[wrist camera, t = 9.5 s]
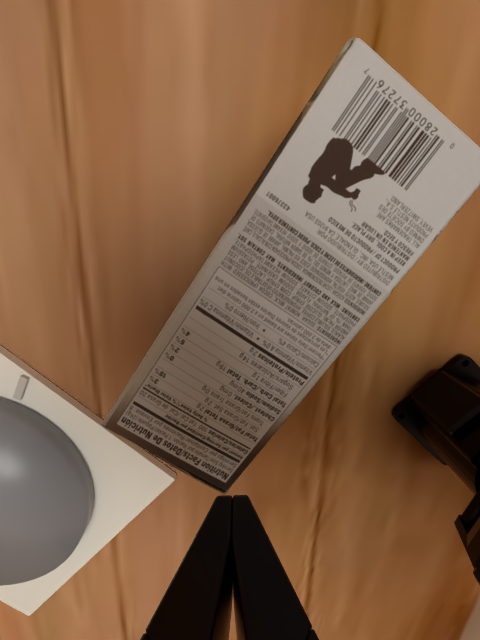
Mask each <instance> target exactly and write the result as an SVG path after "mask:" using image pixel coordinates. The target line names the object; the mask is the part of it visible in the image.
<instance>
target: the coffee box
mask: <svg viewBox="0 0 480 640" xmlns="http://www.w3.org/2000/svg"><path fill="white" fill-rule="evenodd" d="M479 185H480V147H479V146H478V145H477V144H476V143H474V142H473V141H472V140H471V139H470V138H469V137H468V136H467V135H466V134H464V133H463V132H462V131H461V130H460V129H459V128H458V127H457V126H456V125H454V124H453V123H452V122H451V121H450V120H449V119H448V118H447V117H445V116H444V115H443V114H442V113H441V112H440V111H439V110H438V109H437V108H435V107H434V106H433V105H432V104H431V103H430V102H429V101H428V100H426V99H425V98H424V97H423V96H422V95H421V94H420V93H419V92H418V91H417V90H416V89H415V88H414V87H413V86H411V85H410V84H409V83H408V82H407V81H406V80H405V79H404V78H403V77H402V76H401V75H400V74H398V73H397V72H396V71H395V70H394V69H393V68H391V67H390V66H389V65H388V64H387V63H386V62H385V61H384V60H383V59H382V58H381V57H380V56H379V55H378V54H377V53H375V52H374V51H373V50H372V49H371V48H370V47H369V46H368V45H367V44H366V43H364V42H363V41H362V40H361V39H359V38H351V39H349V40H348V41H347V43H346V44H345V46H344V47H343V49H342V50H341V52H340V53H339V55H338V57H337V58H336V60H335V61H334V63H333V64H332V66H331V67H330V69H329V71H328V72H327V74H326V75H325V77H324V78H323V80H322V81H321V83H320V85H319V86H318V88H317V89H316V91H315V92H314V94H313V95H312V97H311V98H310V100H309V102H308V103H307V105H306V106H305V108H304V109H303V111H302V112H301V114H300V115H299V117H298V119H297V120H296V122H295V123H294V125H293V126H292V128H291V129H290V131H289V132H288V134H287V135H286V137H285V139H284V140H283V142H282V143H281V145H280V146H279V148H278V149H277V151H276V152H275V154H274V155H273V157H272V159H271V160H270V162H269V163H268V165H267V166H266V168H265V169H264V171H263V172H262V174H261V176H260V177H259V179H258V180H257V182H256V183H255V185H254V186H253V188H252V189H251V191H250V193H249V194H248V196H247V197H246V199H245V200H244V202H243V203H242V205H241V206H240V208H239V210H238V211H237V213H236V214H235V216H234V217H233V219H232V220H231V222H230V224H229V225H228V227H227V228H226V230H225V231H224V233H223V235H222V236H221V238H220V239H219V241H218V242H217V244H216V245H215V247H214V249H213V250H212V252H211V253H210V255H209V256H208V258H207V259H206V261H205V263H204V264H203V266H202V267H201V269H200V270H199V272H198V273H197V275H196V276H195V278H194V280H193V281H192V283H191V284H190V286H189V287H188V289H187V291H186V292H185V294H184V295H183V297H182V298H181V300H180V301H179V303H178V305H177V306H176V308H175V309H174V311H173V312H172V314H171V316H170V317H169V319H168V320H167V322H166V323H165V325H164V327H163V328H162V330H161V331H160V333H159V334H158V336H157V338H156V339H155V341H154V342H153V344H152V345H151V347H150V349H149V350H148V352H147V353H146V355H145V356H144V358H143V360H142V361H141V363H140V364H139V366H138V368H137V369H136V371H135V372H134V374H133V376H132V377H131V379H130V380H129V382H128V383H127V385H126V387H125V388H124V390H123V391H122V393H121V394H120V396H119V398H118V399H117V401H116V402H115V404H114V405H113V407H112V408H111V410H110V412H109V413H108V415H107V416H106V418H105V419H104V421H103V423H102V426H103V427H105V428H106V429H108V430H110V431H112V432H114V433H116V434H118V435H120V436H122V437H124V438H125V439H127V440H129V441H131V442H133V443H135V444H137V445H139V446H140V447H142V448H144V449H146V450H147V451H149V452H150V453H151V454H153V455H155V456H156V457H158V458H160V459H161V460H163V461H164V462H166V463H168V464H170V465H171V466H173V467H175V468H177V469H178V470H180V471H182V472H184V473H185V474H187V475H189V476H191V477H193V478H194V479H196V480H198V481H200V482H202V483H204V484H206V485H208V486H209V487H211V488H213V489H215V490H217V491H219V492H221V493H223V494H226V493H227V492H228V490H229V488H230V487H231V486H232V484H233V483H234V482H235V481H236V479H237V478H238V477H239V476H240V475H241V473H242V472H243V471H244V470H245V469H246V467H247V466H248V465H249V464H250V463H251V461H252V460H253V459H254V458H255V456H256V455H257V454H258V453H259V452H260V451H261V449H262V448H263V447H264V446H265V444H266V443H267V442H268V441H269V440H270V438H271V437H272V436H273V435H274V434H275V432H276V431H277V430H278V429H279V427H280V426H281V425H282V424H283V423H284V421H285V420H286V419H287V418H288V416H289V415H290V414H291V413H292V412H293V410H294V409H295V408H296V407H297V406H298V404H299V403H300V402H301V401H302V399H303V398H304V397H305V396H306V395H307V393H308V392H309V391H310V390H311V388H312V387H313V386H314V385H315V384H316V382H317V381H318V380H319V379H320V378H321V376H322V375H323V374H324V373H325V372H326V370H327V369H328V368H329V367H330V365H331V364H332V363H333V362H334V361H335V359H336V358H337V357H338V356H339V354H340V353H341V352H342V351H343V349H344V348H345V347H346V346H347V345H348V344H349V342H350V341H351V340H352V339H353V338H354V336H355V335H356V334H357V333H358V332H359V330H360V329H361V328H362V327H363V326H364V324H365V323H366V322H367V321H368V320H369V318H370V317H371V316H372V315H373V313H374V312H375V311H376V310H377V309H378V307H379V306H380V305H381V304H382V303H383V301H384V300H385V299H386V298H387V297H388V296H389V295H390V293H391V292H392V290H393V289H394V288H395V287H396V286H397V285H398V283H399V282H400V281H401V280H402V279H403V278H404V276H405V275H406V274H407V273H408V271H409V270H410V269H411V268H412V267H413V265H414V264H415V263H416V262H417V260H418V259H419V258H420V257H421V255H422V254H423V253H424V252H425V251H426V249H427V248H428V247H429V246H430V245H431V244H432V243H433V241H434V240H435V239H436V237H437V236H438V235H439V234H440V233H441V232H442V230H443V229H444V228H445V227H446V226H447V224H448V223H449V222H450V220H451V219H452V218H453V217H454V215H455V214H456V213H457V212H458V210H459V209H460V208H461V207H462V206H463V204H464V203H465V202H466V201H467V200H468V198H469V197H470V196H471V195H472V194H473V192H474V191H475V190H476V189H477V188H478V186H479Z"/></svg>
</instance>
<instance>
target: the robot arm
mask: <svg viewBox="0 0 480 640" xmlns="http://www.w3.org/2000/svg"><path fill="white" fill-rule="evenodd" d="M464 360H465V362H464V363H463V364H462V362H463V361H464ZM401 412H402V414H401V415H398V414H399V413H401ZM392 415H393V417H394V418H395V419H396V420H397V421H398V422H399V423H400V424H401V425H402V426H403V427H404V428H405V429H406V430H407V431H408V432H409V433H410V434H412V435H413V436H414V437H415V438H416V439H417V440H418V441H419V442H420V443H421V444H422V445H423V446H424V447H425V448H426V449H427V450H428V451H430V452H431V453H432V454H433V455H434V456H435V457H436V458H437V459H438V460H439V461H440V462H441V463H442V464H444V465H448V466H449V467H450V468H451V469H452V470H453V471H454V472H455V473H456V474H457V475H458V476H459V478H460V479H461V480H462V481H463V482H464V483H465V484H466V485H467V486H468V487H469V489H470V490H471V491H472V492H473V493H474V494H475V496H474V497H473V499H472V500H471V502H470V503H469V505H468V506H467V508H466V509H465V511H464V512H463V514H462V515H459V516H458V517H457V519H456V520H455V522H454V523H455V526H456V528H457V530H458V533H459V535H460V537H461V539H462V542H463V544H464V546H465V549H466V551H467V553H468V556H469V558H470V560H471V562H472V565H473V567H474V571H473V573H474V576H475V578H476V580H477V582H478V583H479V585H480V367H479V366H478V365H477V364H476V363H475V362H474V361H473V360H472V359H471V358H470V357H468V356H466V355H463V354H462V355H459V356H457V357H456V358H454V359H453V360H452V361H451V362H450V363H448V364H447V365H446V366H445V367H444V368H442V369H441V370H440V371H439V372H438V373H436V374H435V375H434V376H433V377H431V378H430V379H429V380H428V381H427V382H425V383H424V384H423V385H422V386H421V387H419V388H418V389H417V390H416V391H415V392H413V393H412V394H411V395H410V396H409V397H407V398H406V399H405V400H404V401H402V402H401V403H400V404H399V405H398V406H396V407H395V408H394V409H393V411H392ZM232 597H233V598H234V611H235V622H236V632H237V640H319V639H318V637H317V635H316V633H315V631H314V630H313V629H312V625H311V623H310V621H309V619H308V617H307V615H306V613H305V611H304V609H303V607H302V605H301V603H300V601H299V599H298V596H297V594H296V592H295V590H294V588H293V586H292V584H291V582H290V580H289V578H288V576H287V574H286V572H285V570H284V568H283V566H282V564H281V562H280V560H279V558H278V556H277V554H276V552H275V550H274V548H273V546H272V544H271V542H270V540H269V537H268V535H267V533H266V531H265V529H264V527H263V525H262V523H261V521H260V519H259V517H258V515H257V513H256V511H255V509H254V507H253V505H252V503H251V501H250V499H249V497H248V496H247V495H235V496H233V499H232V496H230V495H226V496H217V497H216V499H215V501H214V503H213V505H212V506H211V508H210V510H209V512H208V514H207V516H206V518H205V520H204V521H203V523H202V525H201V527H200V529H199V531H198V533H197V535H196V536H195V538H194V540H193V542H192V544H191V546H190V548H189V550H188V551H187V553H186V555H185V557H184V559H183V561H182V563H181V565H180V566H179V568H178V570H177V572H176V574H175V576H174V578H173V580H172V581H171V583H170V585H169V587H168V589H167V591H166V593H165V595H164V596H163V598H162V600H161V602H160V604H159V606H158V608H157V610H156V611H155V613H154V615H153V617H152V619H151V621H150V623H149V625H148V627H147V628H146V633H144V634H143V636H142V637H141V639H140V640H229V630H230V620H231V610H232Z"/></svg>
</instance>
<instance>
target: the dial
mask: <svg viewBox="0 0 480 640" xmlns="http://www.w3.org/2000/svg"><path fill="white" fill-rule="evenodd" d="M93 507H94V490H93V483H92V480H91V476H90V473H89V470H88V468H87V466H86V463H85V462H84V460H83V458H82V457H81V455H80V453H79V451H78V450H77V449H76V448H75V446H74V445H73V444H72V443H71V441H70V440H69V439H68V438H67V437H66V436H65V435H64V434H63V433H62V432H61V431H60V430H59V429H58V428H56V427H55V426H54V425H53V424H51V423H50V422H49V421H48V420H46V419H44V418H43V417H41V416H40V415H38V414H37V413H35V412H33V411H31V410H29V409H27V408H25V407H23V406H21V405H19V404H16V403H14V402H11V401H8V400H6V399H2V398H0V586H2V585H13V584H18V583H24V582H27V581H31V580H34V579H37V578H39V577H41V576H44V575H46V574H48V573H49V572H51V571H53V570H55V569H56V568H57V567H59V566H60V565H61V564H62V563H64V562H65V561H66V560H67V559H68V558H69V557H70V555H71V554H72V553H73V552H74V550H75V548H76V547H77V545H78V544H79V542H80V540H81V538H82V536H83V534H84V532H85V530H86V528H87V526H88V524H89V521H90V519H91V516H92V512H93Z"/></svg>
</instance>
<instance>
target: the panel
mask: <svg viewBox="0 0 480 640" xmlns="http://www.w3.org/2000/svg"><path fill="white" fill-rule="evenodd" d="M0 398H2V399H6V400H8V401H11V402H14V403H16V404H19V405H21V406H23V407H25V408H27V409H29V410H31V411H33V412H35V413H37V414H38V415H40V416H41V417H43V418H44V419H46V420H48V421H49V422H50V423H51V424H53V425H54V426H55V427H56V428H58V429H59V430H60V431H61V432H62V433H63V434H64V435H65V436H66V437H67V438H68V439H69V440H70V441H71V443H72V444H73V445H74V446H75V448H76V449H77V450H78V451H79V453H80V455H81V457H82V458H83V460H84V462H85V463H86V466H87V468H88V470H89V473H90V476H91V480H92V483H93V490H94V507H93V512H92V516H91V519H90V521H89V524H88V526H87V528H86V530H85V532H84V534H83V536H82V538H81V540H80V542H79V544H78V545H77V547H76V548H75V550H74V552H73V553H72V554H71V555H70V557H69V558H68V559H67V560H66V561H65V562H64V563H62V564H61V565H60V566H59V567H57V568H56V569H55V570H53V571H51V572H49V573H48V574H46V575H44V576H41V577H39V578H37V579H34V580H31V581H27V582H24V583H18V584H13V585H2V586H0V600H1V601H2V602H4V603H6V604H8V605H10V606H11V607H13V608H15V609H17V610H19V611H21V612H22V613H24V614H26V615H28V616H30V615H31V614H32V613H33V612H34V611H35V610H36V609H37V608H38V607H39V606H41V605H42V604H43V603H44V602H45V601H46V600H47V599H48V598H49V597H50V596H51V595H52V594H53V593H54V592H56V591H57V590H58V589H59V588H60V587H61V586H62V585H63V584H64V583H65V582H66V581H67V580H68V579H69V578H70V577H72V576H73V575H74V574H75V573H76V572H77V571H78V570H79V569H80V568H81V567H82V566H83V565H84V564H85V563H87V562H88V561H89V560H90V559H91V558H92V557H93V556H94V555H95V554H96V553H97V552H98V551H99V550H100V549H102V548H103V547H104V546H105V545H106V544H107V543H108V542H109V541H110V540H111V539H112V538H113V537H114V536H115V535H117V534H118V533H119V532H120V531H121V530H122V529H123V528H124V527H125V526H126V525H127V524H128V523H129V522H130V521H131V520H133V519H134V518H135V517H136V516H137V515H138V514H139V513H140V512H141V511H142V510H143V509H144V508H145V507H146V506H148V505H149V504H150V503H151V502H152V501H153V500H154V499H155V498H156V497H157V496H158V495H159V494H160V493H161V492H163V491H164V490H165V489H166V488H167V487H168V486H169V485H170V484H171V483H172V482H173V481H174V480H175V478H176V473H175V472H173V471H172V470H171V469H169V468H168V467H167V466H165V465H164V464H163V463H161V462H160V461H158V460H157V459H156V458H154V457H153V456H152V455H150V454H149V453H147V452H146V451H145V450H143V449H142V448H141V447H139V446H138V445H137V444H135V443H133V442H131V441H129V440H127V439H125V438H124V437H122V436H120V435H118V434H116V433H114V432H112V431H110V430H108V429H106V428H105V427H103V426H102V423H103V421H104V420H102V419H101V418H100V417H98V416H97V415H95V414H94V413H93V412H91V411H90V410H89V409H87V408H86V407H85V406H83V405H82V404H80V403H79V402H78V401H76V400H75V399H74V398H72V397H71V396H69V395H68V394H67V393H65V392H64V391H63V390H61V389H60V388H59V387H57V386H56V385H54V384H53V383H52V382H50V381H49V380H48V379H46V378H45V377H43V376H42V375H41V374H39V373H38V372H37V371H35V370H34V369H32V368H31V367H30V366H28V365H27V364H26V363H24V362H23V361H22V360H20V359H19V358H17V357H16V356H15V355H13V354H12V353H11V352H9V351H8V350H6V349H5V348H4V347H2V346H1V345H0Z"/></svg>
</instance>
